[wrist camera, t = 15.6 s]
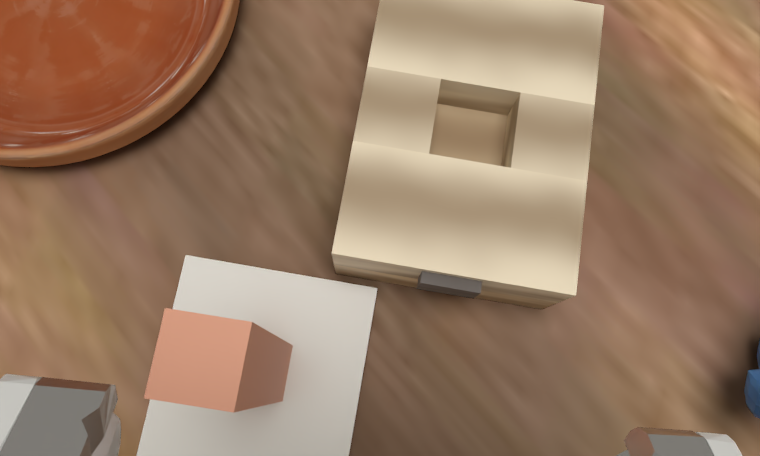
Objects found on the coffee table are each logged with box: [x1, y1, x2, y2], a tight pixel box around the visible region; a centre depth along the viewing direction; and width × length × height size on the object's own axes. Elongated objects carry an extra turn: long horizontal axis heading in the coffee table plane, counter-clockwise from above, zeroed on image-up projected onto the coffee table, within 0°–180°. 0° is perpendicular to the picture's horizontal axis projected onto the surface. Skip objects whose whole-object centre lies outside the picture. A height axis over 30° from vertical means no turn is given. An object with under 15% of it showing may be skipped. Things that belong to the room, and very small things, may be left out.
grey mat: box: [136, 255, 377, 456], centre depth 35 cm, size 11×11×1 cm
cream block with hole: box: [332, 0, 604, 309], centre depth 36 cm, size 17×12×6 cm
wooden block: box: [144, 308, 293, 413], centre depth 28 cm, size 3×3×14 cm
